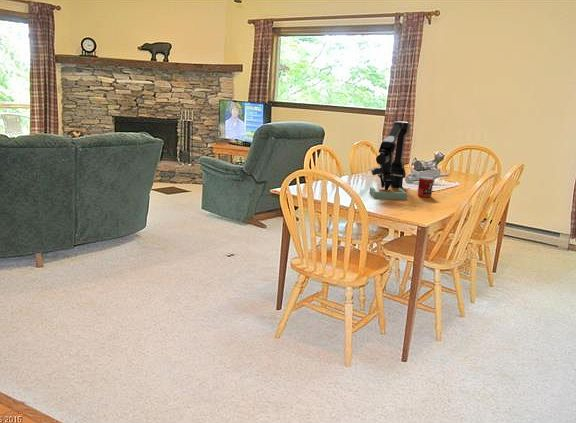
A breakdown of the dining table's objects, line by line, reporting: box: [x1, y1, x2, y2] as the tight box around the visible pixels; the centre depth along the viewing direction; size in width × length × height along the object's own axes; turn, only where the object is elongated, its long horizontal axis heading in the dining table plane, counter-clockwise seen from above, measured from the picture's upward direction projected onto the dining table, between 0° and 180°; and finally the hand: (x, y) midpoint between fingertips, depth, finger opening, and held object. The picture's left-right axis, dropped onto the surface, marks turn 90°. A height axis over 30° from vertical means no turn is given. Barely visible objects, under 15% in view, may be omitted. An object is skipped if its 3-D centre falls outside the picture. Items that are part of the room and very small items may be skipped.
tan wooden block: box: [378, 188, 394, 192], centre depth 295 cm, size 7×7×4 cm
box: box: [369, 186, 408, 201], centre depth 296 cm, size 18×14×4 cm
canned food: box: [417, 175, 434, 199], centre depth 300 cm, size 8×8×11 cm
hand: (384, 189), depth 306 cm, fingers open, 9 cm apart
